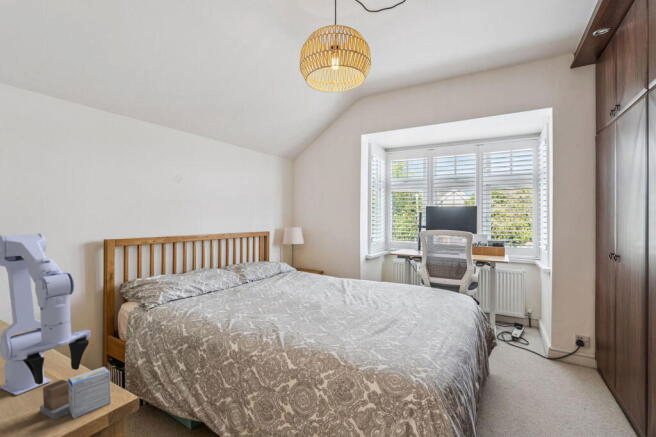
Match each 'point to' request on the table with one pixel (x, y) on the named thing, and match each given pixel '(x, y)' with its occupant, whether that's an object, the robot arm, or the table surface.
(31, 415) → the table surface
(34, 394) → the table surface
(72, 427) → the table surface
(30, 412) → the table surface
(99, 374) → the medicine box
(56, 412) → the slate block
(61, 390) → the walnut cube
